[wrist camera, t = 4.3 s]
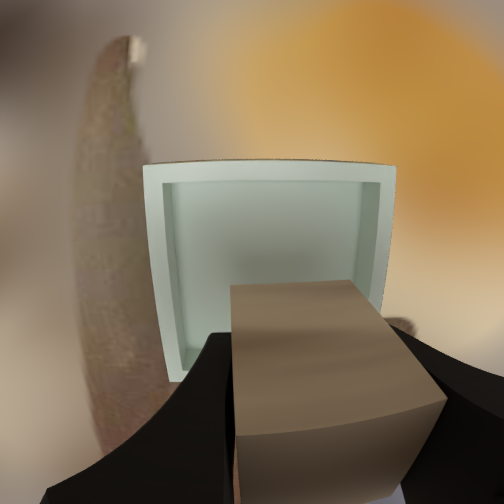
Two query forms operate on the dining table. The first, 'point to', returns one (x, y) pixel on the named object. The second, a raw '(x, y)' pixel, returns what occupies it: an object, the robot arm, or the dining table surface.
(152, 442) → the robot arm
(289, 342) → the maple block
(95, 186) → the dining table surface
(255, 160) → the sage tray
